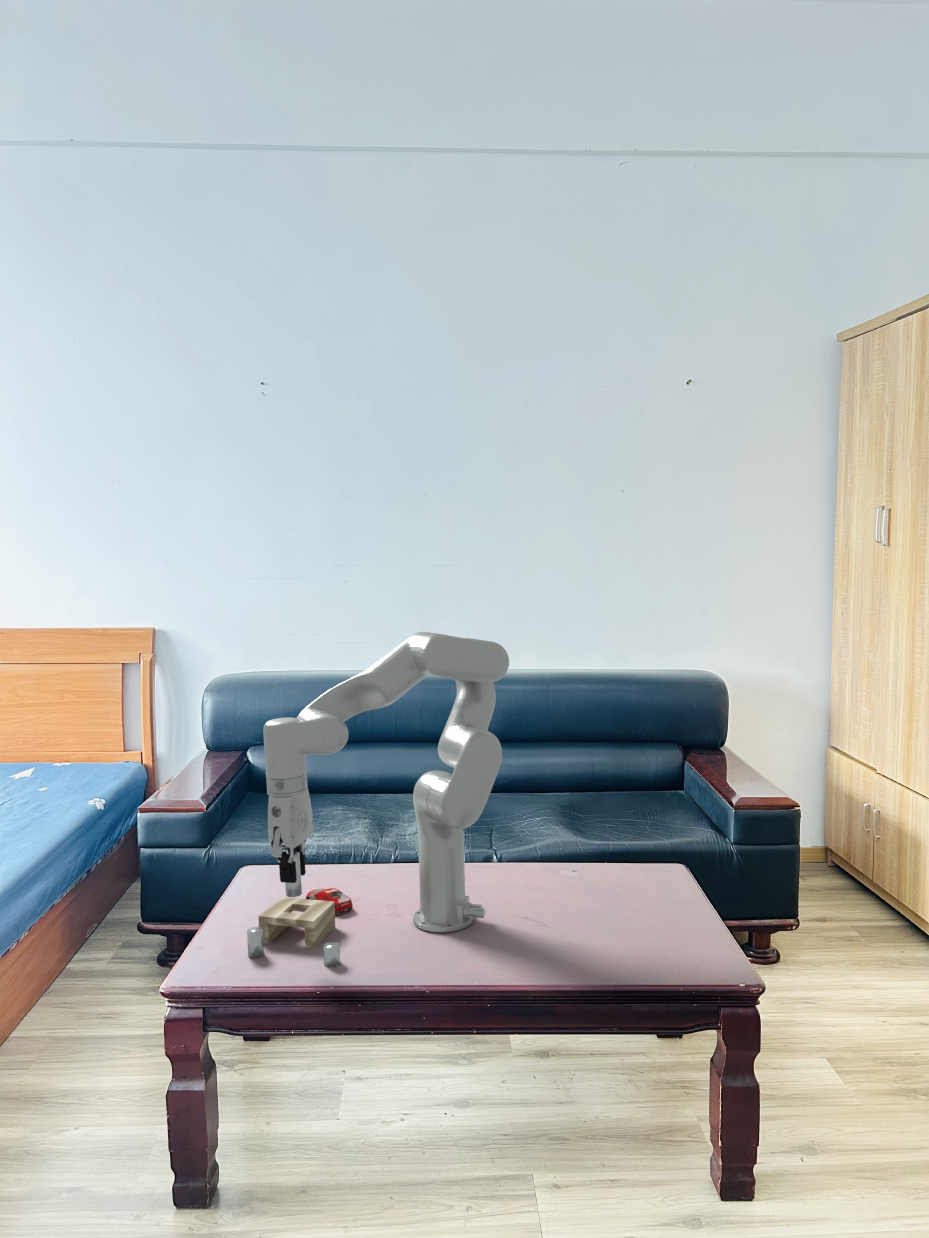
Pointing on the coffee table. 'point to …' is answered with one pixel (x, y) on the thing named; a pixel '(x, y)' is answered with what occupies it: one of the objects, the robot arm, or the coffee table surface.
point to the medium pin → (255, 942)
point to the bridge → (299, 919)
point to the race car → (332, 899)
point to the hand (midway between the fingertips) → (293, 877)
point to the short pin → (331, 954)
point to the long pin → (296, 887)
